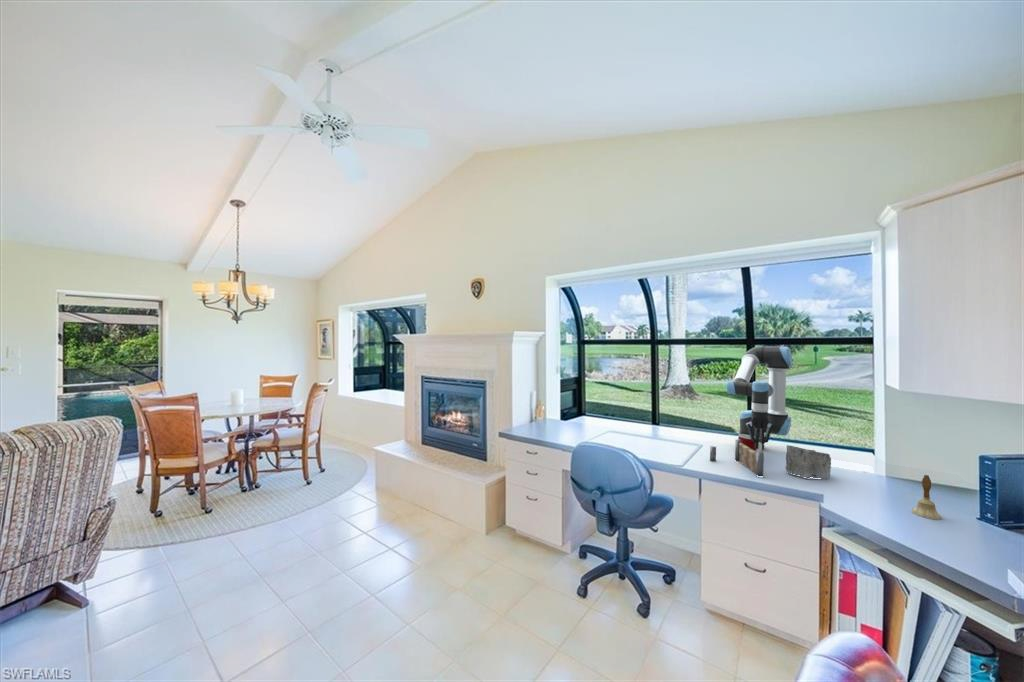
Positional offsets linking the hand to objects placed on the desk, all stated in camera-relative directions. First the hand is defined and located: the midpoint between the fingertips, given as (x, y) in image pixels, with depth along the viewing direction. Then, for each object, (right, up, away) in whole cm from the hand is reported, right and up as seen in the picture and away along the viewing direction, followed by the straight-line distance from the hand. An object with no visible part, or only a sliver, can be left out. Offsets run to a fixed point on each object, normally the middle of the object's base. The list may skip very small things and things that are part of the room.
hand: (759, 454), depth 204 cm
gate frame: (-11, -8, +3) cm, 14 cm away
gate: (-4, -7, +2) cm, 9 cm away
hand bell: (+35, -9, -50) cm, 62 cm away
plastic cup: (+9, -8, +23) cm, 26 cm away
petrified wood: (+21, -9, -7) cm, 23 cm away
